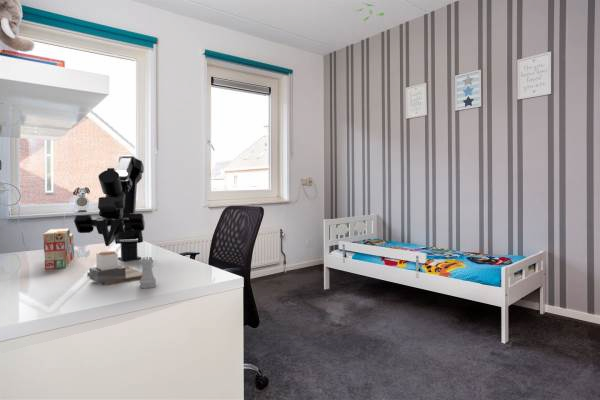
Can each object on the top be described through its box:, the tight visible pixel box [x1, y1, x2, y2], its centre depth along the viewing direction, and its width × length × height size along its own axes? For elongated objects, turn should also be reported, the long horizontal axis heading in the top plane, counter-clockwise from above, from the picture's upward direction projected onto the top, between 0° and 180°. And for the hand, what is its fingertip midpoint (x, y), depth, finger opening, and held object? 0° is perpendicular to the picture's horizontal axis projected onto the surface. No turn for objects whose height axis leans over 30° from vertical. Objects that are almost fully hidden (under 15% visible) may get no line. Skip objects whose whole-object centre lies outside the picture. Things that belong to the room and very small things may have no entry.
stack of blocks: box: [42, 227, 75, 270], centre depth 138 cm, size 21×6×12 cm, turn 24°
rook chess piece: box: [138, 256, 157, 289], centre depth 106 cm, size 4×4×8 cm
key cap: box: [95, 250, 119, 270], centre depth 111 cm, size 4×4×4 cm
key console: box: [86, 264, 143, 287], centre depth 116 cm, size 16×14×4 cm
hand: (106, 245), depth 111 cm, fingers closed
